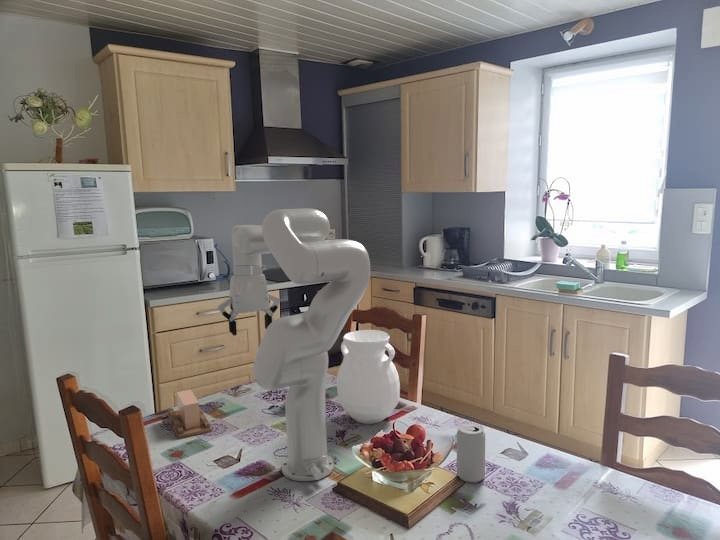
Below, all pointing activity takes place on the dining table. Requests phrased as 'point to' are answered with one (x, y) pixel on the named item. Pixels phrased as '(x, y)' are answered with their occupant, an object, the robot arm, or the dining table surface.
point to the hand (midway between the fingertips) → (251, 331)
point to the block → (188, 409)
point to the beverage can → (471, 452)
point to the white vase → (368, 376)
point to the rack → (183, 432)
